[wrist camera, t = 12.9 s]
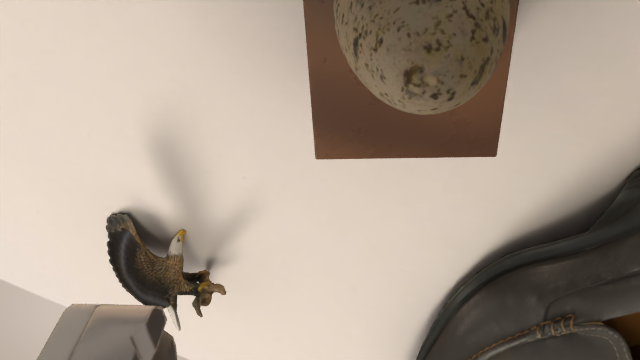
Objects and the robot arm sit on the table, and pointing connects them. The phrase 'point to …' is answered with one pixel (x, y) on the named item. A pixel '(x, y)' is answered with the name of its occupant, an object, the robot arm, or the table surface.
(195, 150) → the table surface
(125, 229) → the eagle figurine
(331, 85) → the shelf
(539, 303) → the loafer
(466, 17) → the decorative egg
